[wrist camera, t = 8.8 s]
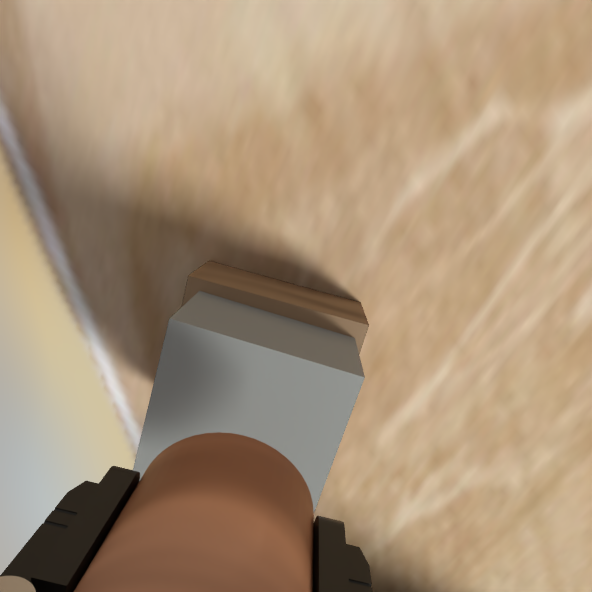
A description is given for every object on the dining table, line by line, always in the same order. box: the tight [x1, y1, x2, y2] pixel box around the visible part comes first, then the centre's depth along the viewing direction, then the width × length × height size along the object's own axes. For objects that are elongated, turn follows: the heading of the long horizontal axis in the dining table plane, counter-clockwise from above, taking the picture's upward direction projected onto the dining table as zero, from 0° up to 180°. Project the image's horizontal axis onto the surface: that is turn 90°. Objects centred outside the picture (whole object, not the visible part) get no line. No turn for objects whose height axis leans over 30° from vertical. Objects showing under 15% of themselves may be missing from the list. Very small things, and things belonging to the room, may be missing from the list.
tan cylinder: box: [73, 432, 314, 592], centre depth 10 cm, size 5×5×5 cm
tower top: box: [133, 291, 365, 511], centre depth 18 cm, size 7×7×4 cm
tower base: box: [182, 261, 369, 354], centre depth 22 cm, size 8×8×4 cm
